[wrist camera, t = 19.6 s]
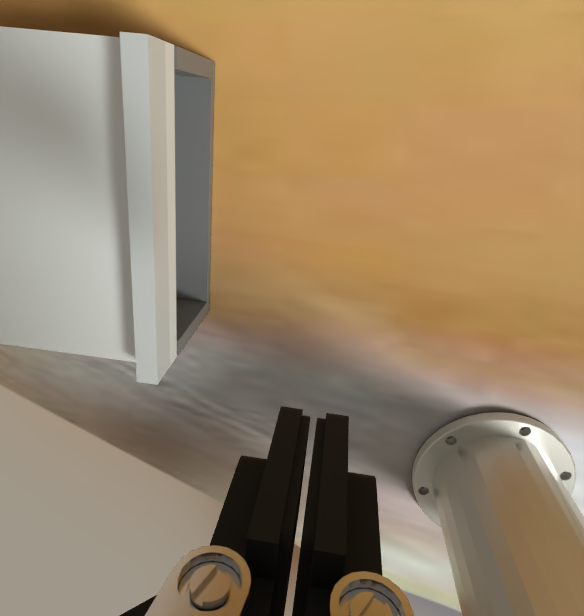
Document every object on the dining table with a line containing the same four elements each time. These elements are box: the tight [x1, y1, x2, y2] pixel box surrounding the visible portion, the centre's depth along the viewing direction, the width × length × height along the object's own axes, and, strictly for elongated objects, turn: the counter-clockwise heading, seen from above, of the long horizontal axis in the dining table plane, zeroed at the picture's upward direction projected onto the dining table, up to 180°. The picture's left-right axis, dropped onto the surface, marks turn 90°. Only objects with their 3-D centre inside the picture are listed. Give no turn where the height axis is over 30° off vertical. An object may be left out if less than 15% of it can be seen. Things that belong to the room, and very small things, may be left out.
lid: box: [0, 26, 177, 385], centre depth 24 cm, size 15×17×3 cm
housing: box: [174, 46, 215, 355], centre depth 29 cm, size 15×17×7 cm
